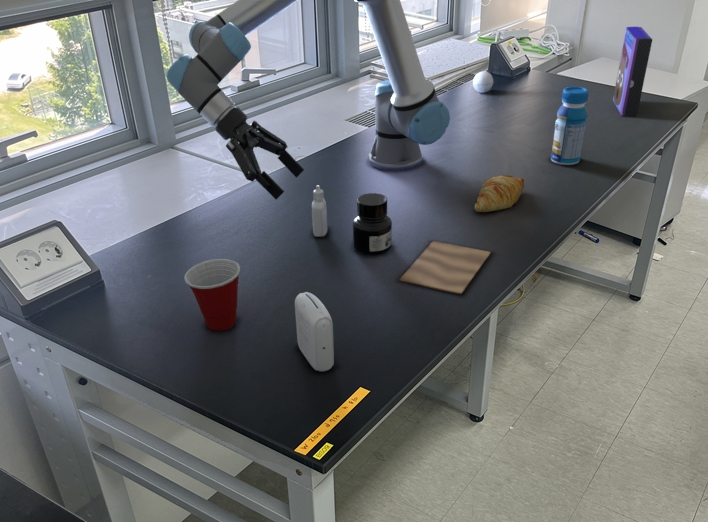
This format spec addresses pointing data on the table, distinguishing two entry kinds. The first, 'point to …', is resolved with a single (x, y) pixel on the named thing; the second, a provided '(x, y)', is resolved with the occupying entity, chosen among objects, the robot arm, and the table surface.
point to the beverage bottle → (570, 126)
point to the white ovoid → (483, 82)
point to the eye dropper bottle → (319, 213)
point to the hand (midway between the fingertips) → (290, 184)
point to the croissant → (499, 193)
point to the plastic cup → (215, 291)
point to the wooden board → (446, 267)
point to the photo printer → (314, 331)
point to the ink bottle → (372, 225)
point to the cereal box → (632, 71)
